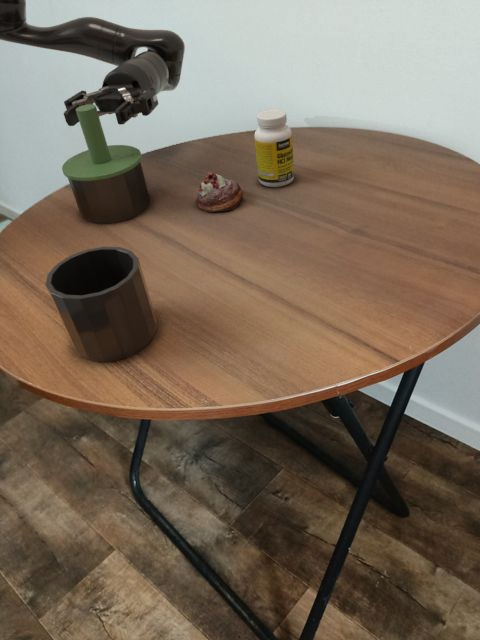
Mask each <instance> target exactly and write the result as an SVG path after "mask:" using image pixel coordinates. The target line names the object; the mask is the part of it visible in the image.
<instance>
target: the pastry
mask: <svg viewBox="0 0 480 640" xmlns="http://www.w3.org/2000/svg"><path fill="white" fill-rule="evenodd" d="M198 191H199V192H198V193H197V197H196V204H197V206H198V208H199V209H200V210H203V211H205V212H208V213H209V212H211V213H214V212H215V213H216V212H226V211H231V210H233V209H235V208H236V207H237V206H238V205H239V204H240V203H241V201H242V199H243V197H244V191H243V188H241V185H240V184H239V182H237V181H235V180H233V179H228V178H224V177H223V176H222V175H220V174H217V173H214V172H212V171H206V176H205V177H204V179H203V180H202V181H201V183H200V184H199V187H198Z"/></svg>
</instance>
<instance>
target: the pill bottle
mask: <svg viewBox="0 0 480 640" xmlns="http://www.w3.org/2000/svg"><path fill="white" fill-rule="evenodd" d="M286 112H287V111H285V110H282V109H268V110H264V111H260V112H258V114H257V115H256V122H257V126H258V127H257V128H256V130H255V132H254V135H253V136H254V137H253V138H254V148H255V156H256V157H255V158H256V167H257V177H258V181H259V184H261V185H262V186H264V187H268V188H281V187H285V186H287V185H290V184H291V183H292V182H293V181H294V179H295V165H294V147H293V146H294V145H293V132H292V128H291V127H289V126H288V125H287V120H288V119H287V113H286Z"/></svg>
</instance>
